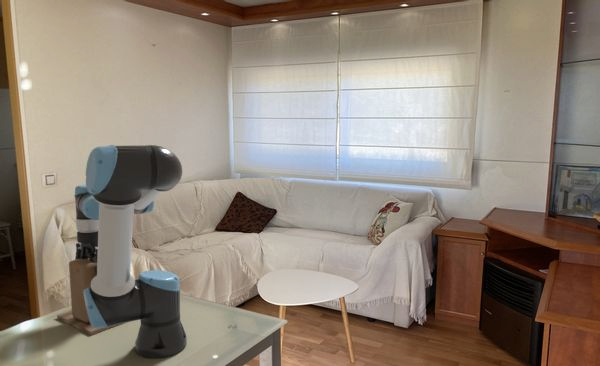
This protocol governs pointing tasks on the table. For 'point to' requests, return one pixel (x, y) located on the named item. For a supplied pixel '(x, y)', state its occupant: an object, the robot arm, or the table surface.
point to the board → (80, 323)
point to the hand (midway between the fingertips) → (92, 292)
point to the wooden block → (80, 285)
